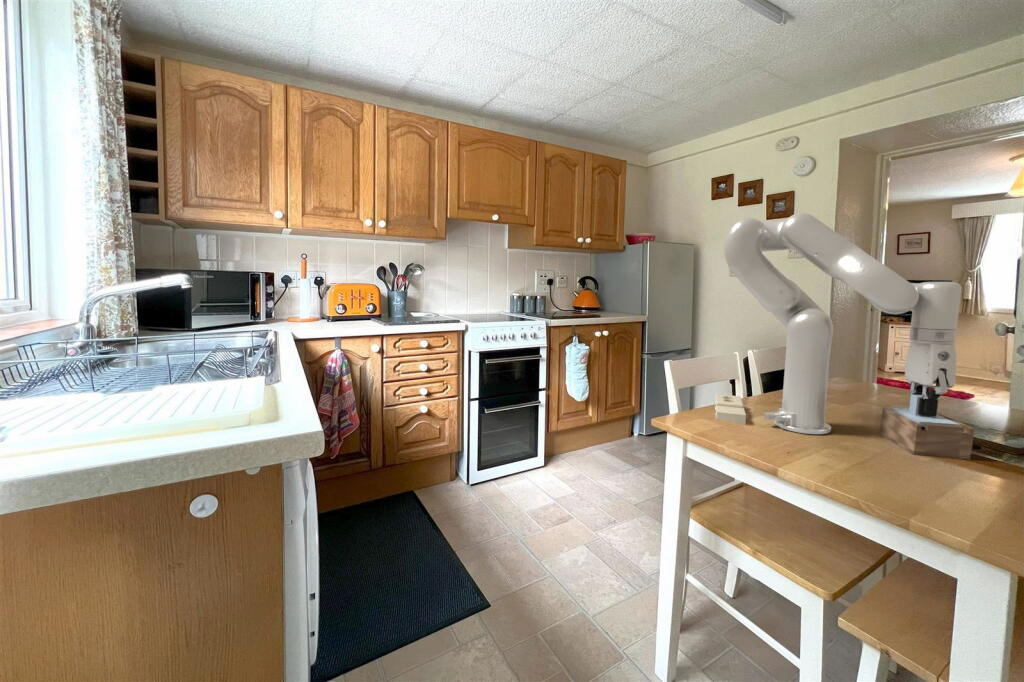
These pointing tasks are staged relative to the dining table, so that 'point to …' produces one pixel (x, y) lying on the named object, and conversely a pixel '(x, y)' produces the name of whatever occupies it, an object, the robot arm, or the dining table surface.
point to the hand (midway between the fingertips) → (922, 413)
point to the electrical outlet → (730, 408)
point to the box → (927, 436)
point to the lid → (913, 415)
